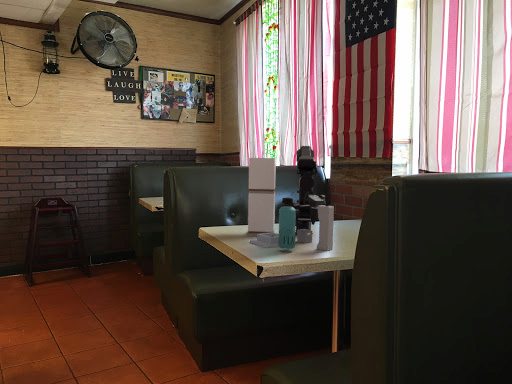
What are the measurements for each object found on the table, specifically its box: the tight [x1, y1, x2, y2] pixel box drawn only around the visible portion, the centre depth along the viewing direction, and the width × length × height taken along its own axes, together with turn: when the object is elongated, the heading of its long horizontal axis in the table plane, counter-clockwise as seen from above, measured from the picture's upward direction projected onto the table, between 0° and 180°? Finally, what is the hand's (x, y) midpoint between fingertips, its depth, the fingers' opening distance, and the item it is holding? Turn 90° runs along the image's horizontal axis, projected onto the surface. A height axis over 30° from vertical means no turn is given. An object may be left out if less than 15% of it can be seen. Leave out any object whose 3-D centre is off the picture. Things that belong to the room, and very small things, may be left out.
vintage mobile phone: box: [316, 184, 335, 252], centre depth 150 cm, size 4×5×25 cm
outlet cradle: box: [249, 231, 279, 249], centre depth 160 cm, size 14×12×4 cm
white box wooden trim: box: [247, 157, 277, 237], centre depth 181 cm, size 11×11×35 cm
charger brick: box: [296, 229, 313, 244], centre depth 165 cm, size 4×5×5 cm
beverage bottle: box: [277, 197, 296, 250], centre depth 146 cm, size 6×7×20 cm
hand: (304, 225), depth 165 cm, fingers open, 9 cm apart
